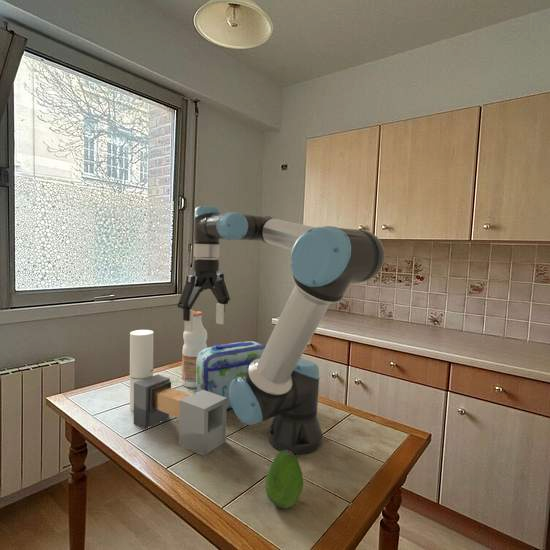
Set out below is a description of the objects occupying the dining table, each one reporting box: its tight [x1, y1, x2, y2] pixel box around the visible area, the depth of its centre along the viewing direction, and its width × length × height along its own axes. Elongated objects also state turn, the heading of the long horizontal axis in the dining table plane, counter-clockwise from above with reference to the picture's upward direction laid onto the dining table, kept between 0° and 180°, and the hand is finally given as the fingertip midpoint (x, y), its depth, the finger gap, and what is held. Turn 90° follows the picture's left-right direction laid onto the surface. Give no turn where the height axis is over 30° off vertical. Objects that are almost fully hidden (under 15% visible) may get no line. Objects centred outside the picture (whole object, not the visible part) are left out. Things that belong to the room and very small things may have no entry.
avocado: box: [264, 450, 304, 509], centre depth 79 cm, size 8×8×12 cm
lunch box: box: [195, 340, 266, 410], centre depth 127 cm, size 26×11×21 cm, turn 123°
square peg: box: [149, 380, 191, 419], centre depth 108 cm, size 21×7×7 cm, turn 57°
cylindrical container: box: [129, 329, 154, 412], centre depth 121 cm, size 7×7×25 cm
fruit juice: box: [181, 310, 208, 389], centre depth 143 cm, size 9×9×28 cm
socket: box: [133, 374, 171, 430], centre depth 113 cm, size 6×9×13 cm, turn 147°
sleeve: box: [178, 390, 228, 457], centre depth 101 cm, size 9×9×13 cm
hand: (204, 327), depth 114 cm, fingers open, 13 cm apart
